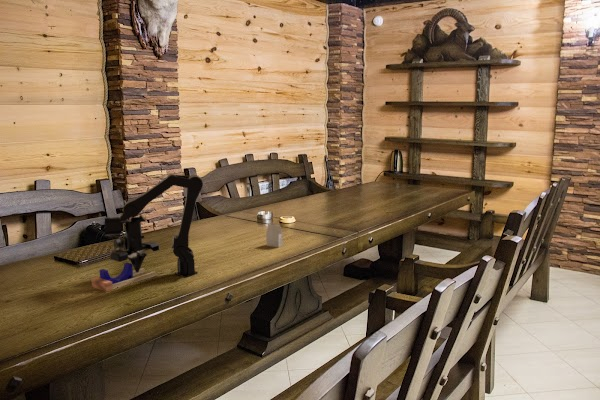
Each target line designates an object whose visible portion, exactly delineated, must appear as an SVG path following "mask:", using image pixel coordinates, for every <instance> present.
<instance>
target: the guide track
mask: <svg viewBox="0 0 600 400" xmlns="http://www.w3.org/2000/svg"><path fill="white" fill-rule="evenodd" d="M145 272H146V271H145V268H144V267H142V268H140V269H139V272H138V273H137V272H136V271H135V270H133V278H131V279H128V280H125V281H121V282H118V283H115V284H112V282H111V281H108V280H105V279H102V278H100V276H97V277H94V278H91V287H92V288H95V289H97V290H101V291H103V292H110V291H113V290H114V289H117V287H118V288H120V287H121V288H122V287H123V285H124V286H126V285H127V284H128V285H130V283H131V284H133V282H134V283H137V282H140V281H144V280H147V279H150V278H153V277H156V276H157V272H156V271H151V272H148V273H145ZM143 273H144V274H143ZM119 275H120V274H118V275H116V276H112V277H111V276H110V277H111V278H115V277H117V276H119ZM137 275H138V276H137ZM134 276H135V277H134ZM128 285H127V286H128Z"/></svg>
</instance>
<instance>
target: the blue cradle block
mask: <svg viewBox="0 0 600 400" xmlns="http://www.w3.org/2000/svg"><path fill="white" fill-rule="evenodd" d="M133 271H134V270H133V265H132V263H131V262H124V263H123V269H122V271H121V273H119V274H118V275H119V276H118V275H116V276H117V277H115V276H114V277H115V278H111V276H110V274H109V270H107V269H104V268H102V269H99V278H102V279H105V280H108V281H111V282H112V284H115V283H118V282H121V281H125V280H128V279H131V278H134V276H133Z"/></svg>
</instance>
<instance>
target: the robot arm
mask: <svg viewBox="0 0 600 400" xmlns="http://www.w3.org/2000/svg"><path fill="white" fill-rule="evenodd" d="M173 186H175V187H180V188H184V189H186V190H185V194H186V196H185V197H186V198H185V201H184V207H183V211H182V216H181V221H180V225H179V229H178V233H177V234H173V235H172V241H171V243H170V244H171V245H170V246H171V249H172V254H174V256H175V257H177V262H176V263H177V271H176V272H175V273H174V275H178V276H180V277H184V278H187V277H190V276H193V275H195V274H199V272H198V271H196V270H195V266H196V265H195V254H194V251H193V249H191V248H190V247H189V233H190V230H191V225H192V220H193V216H194V211H195V208H196V207H195V206H196V202H197V199H198V197H199V195H200V193H201V192H202V188H203V186H204V183H203V180H202V178H201V177H200V176H199V175H197V174H191V175H180V174H174V173H170V174H168V175H167V176H166V177H165V178H163V179H162V180H161V181H160V182H157V184H155V185H154V186H152V187H151V188H149V189H148V190H147V191H144V193H142V194H140V195H138V196H135V197H133V198H131V199H129V200H127V201H126V202H125V204H124V206H123V211H122V213H120V215H119V216H115V217H114V216H113V217H108V216H107V217H106V216H105V217H104V227H103V231H104V236H106V237H107V236H116V235H117V236H118V235H122V233H123V232H125V235H124V236H123V239H122V240H121V239H120V238H117V239H114V240H113V246H114V248H115V249H116V250H114V251H111V252H110V253H109V254H110V255H109V256H110V260H112V261H116V262H118V263H119V262H124V261H127V260H129V261H130V263H131V264H132V268H133V269H134V271H136V272H137V273H138V272H139V269H141V267H142V265H143V263H144V260H145V258H146V257H147V256H148V253H146V252H145V251H147V250H148V251H149V250H151V251H152V252H157V251H160V245H159V243H158V242H155V241H152V240H148V241H145V242H143V239H145V235H143V232H142V223H145V222H146V219H147V218H146V217H144V216H143V215H142V214H140V213H141V212H142V211H143V210H144V209H145V208H146V207H147V206H148V204H149V203H151V202H152V201H153V200H155V199H156V198H158V197H160V196H161V195H162V194H163V193H165V192H167V191H168V190H169V189H170V188H171V187H173ZM139 214H140V215H139ZM138 215H139V216H138Z"/></svg>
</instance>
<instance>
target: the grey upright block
mask: <svg viewBox="0 0 600 400" xmlns="http://www.w3.org/2000/svg"><path fill="white" fill-rule="evenodd" d="M283 234H284V233H283V230H282V227H281V225H277V224H272V223H271V224H270V223H269V224H267V230H266V234H265V235H266V237H265V238H266V241H265V242H266V247H271V248H273V247H274V248H280V247H284V244H283V243H284V241H283V239H284V238H283V237H284V235H283Z"/></svg>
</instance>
